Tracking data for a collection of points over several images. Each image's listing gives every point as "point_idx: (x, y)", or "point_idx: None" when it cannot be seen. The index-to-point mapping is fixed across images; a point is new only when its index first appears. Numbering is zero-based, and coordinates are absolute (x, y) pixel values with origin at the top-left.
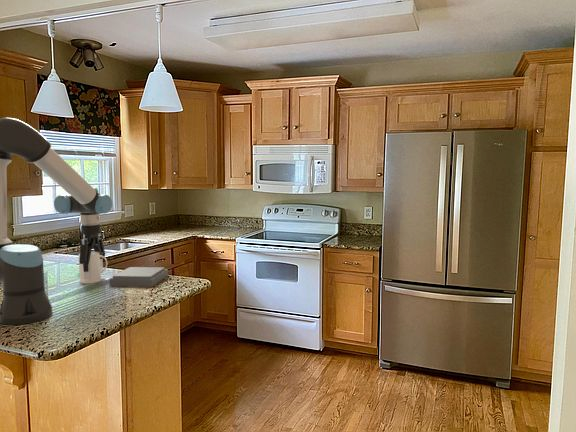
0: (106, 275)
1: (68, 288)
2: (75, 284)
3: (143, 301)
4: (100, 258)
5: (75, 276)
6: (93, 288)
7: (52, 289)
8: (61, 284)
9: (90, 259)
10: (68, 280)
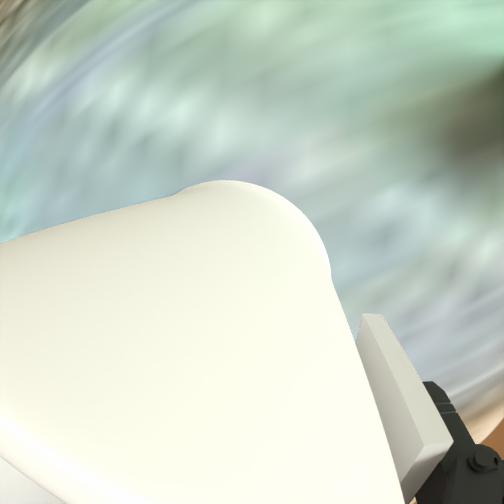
0: (432, 338)
1: (21, 200)
2: (108, 189)
3: None
4: (419, 492)
5: (419, 44)
6: None
7: (8, 101)
8: (114, 62)
9: (23, 487)
10: (258, 36)
